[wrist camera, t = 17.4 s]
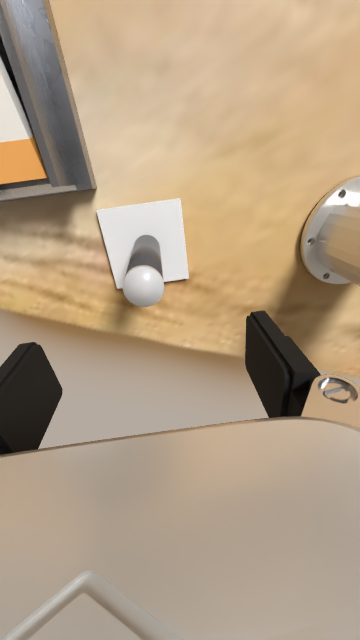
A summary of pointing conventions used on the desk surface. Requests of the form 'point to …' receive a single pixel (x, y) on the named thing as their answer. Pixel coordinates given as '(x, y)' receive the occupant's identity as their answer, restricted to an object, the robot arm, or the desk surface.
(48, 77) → the tilting lid box
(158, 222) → the mat
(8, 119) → the tilting box lid
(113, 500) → the robot arm
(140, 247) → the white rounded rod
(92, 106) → the desk surface
